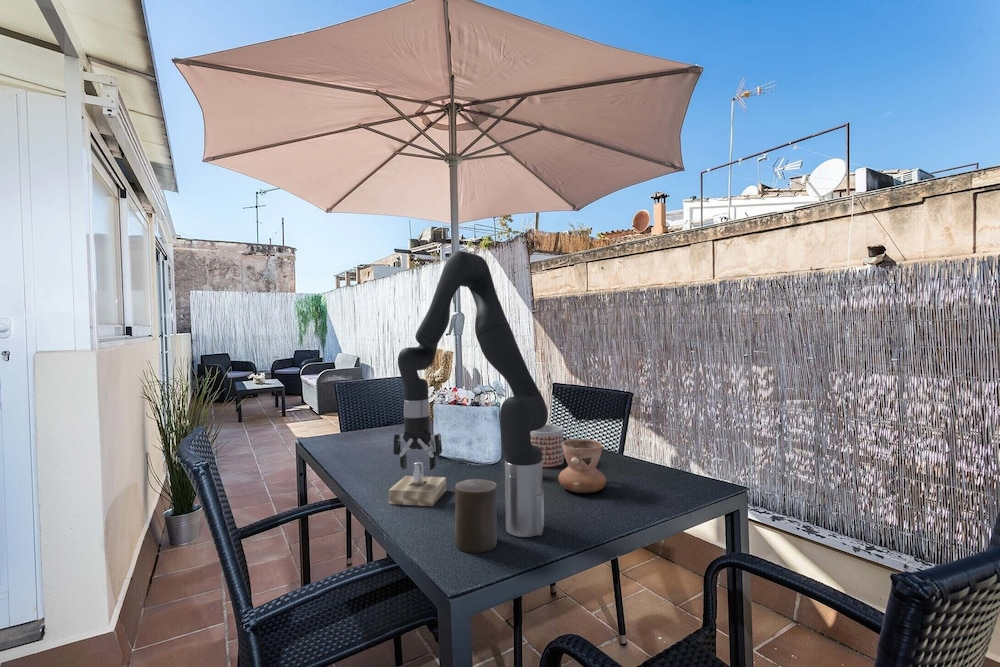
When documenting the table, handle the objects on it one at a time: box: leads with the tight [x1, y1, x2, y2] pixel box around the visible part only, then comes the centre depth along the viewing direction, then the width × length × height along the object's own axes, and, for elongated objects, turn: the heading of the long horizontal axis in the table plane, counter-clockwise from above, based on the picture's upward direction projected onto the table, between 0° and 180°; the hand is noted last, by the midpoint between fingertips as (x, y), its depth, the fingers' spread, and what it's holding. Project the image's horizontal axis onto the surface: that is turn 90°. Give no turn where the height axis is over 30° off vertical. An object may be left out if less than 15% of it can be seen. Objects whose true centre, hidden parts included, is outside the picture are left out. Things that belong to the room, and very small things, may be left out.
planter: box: [530, 423, 565, 469], centre depth 175 cm, size 14×14×13 cm
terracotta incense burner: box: [557, 438, 607, 494], centre depth 147 cm, size 18×14×14 cm
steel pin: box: [412, 461, 424, 486], centre depth 142 cm, size 3×3×10 cm
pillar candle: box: [454, 478, 498, 554], centre depth 111 cm, size 10×10×15 cm
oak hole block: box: [388, 475, 447, 507], centre depth 142 cm, size 13×13×4 cm
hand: (418, 469), depth 142 cm, fingers open, 8 cm apart
